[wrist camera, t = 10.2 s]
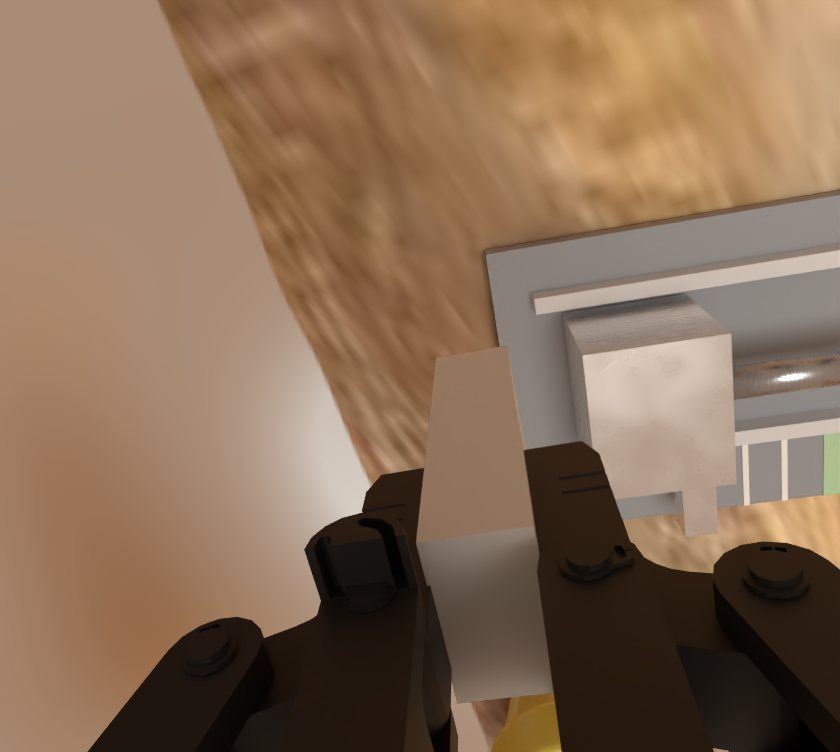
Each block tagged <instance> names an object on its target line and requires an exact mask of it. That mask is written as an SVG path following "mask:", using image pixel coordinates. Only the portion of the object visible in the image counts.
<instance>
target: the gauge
mask: <svg viewBox="0 0 840 752" xmlns="http://www.w3.org/2000/svg"><path fill="white" fill-rule="evenodd" d="M563 322H564V330H565V339H566V347H567V356H568V364H569V373H570V381H571V390H572V398H573V407H574V415H575V424H576V432H577V439H578V441H583V442H584V443H586V444H587V445H588V446H590V447H591V448H592V449H594V450H595V451H597V452H598V453H599V454H600V457H601V460H602V463H603V466H604V469H605V473H606V474H607V477H608V480H609V483H610V487H611V489H612V491H613V494H614V497H615V499H622V498H630V497H638V496H646V495H654V494H662V493H670V492H675V502H676V517H677V522H678V524H679V526H680V527H681V529H682V531H683V533H684V535H685V537H692V536H700V535H708V534H717V533H718V515H717V494H716V487H717V486H725V485H732V484H737V478H736V451H735V423H734V400H738V399H746V398H753V397H760V396H767V395H774V394H781V393H788V392H796V391H803V390H810V389H817V388H824V387H831V386H838V385H840V350H833V351H826V352H819V353H812V354H806V355H799V356H792V357H785V358H778V359H771V360H764V361H757V362H750V363H744V364H737V365H732V339H731V333H730V332H729V331H728V330H727V329H726V328H724V327H723V326H722V325H721V324H720V323H719V322H717V321H716V320H715V319H714V318H713V317H712V316H710V315H709V314H708V313H707V312H706V311H705V310H704V309H702V308H701V307H700V306H699V305H698V304H697V303H695V302H694V301H693V300H692V299H691V298H690V297H688V296H687V295H686V294H682V295H676V296H670V297H663V298H657V299H650V300H644V301H638V302H631V303H625V304H619V305H612V306H606V307H600V308H593V309H587V310H581V311H574V312H568V313H563Z"/></svg>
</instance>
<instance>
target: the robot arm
mask: <svg viewBox="0 0 840 752" xmlns="http://www.w3.org/2000/svg"><path fill="white" fill-rule="evenodd" d="M362 512H363V513H359V514H356V515H352V516H348V517H344V518H341V519H339V520H337V521H335V522H333V523H331V524H330V525H327V526H325V527H324V528H323V529H322V530H320V531H319V532H318V533H317V534H315V535H314V536H313V537H312V538H311V539H310V541H309V543H308V544H307V546H306V548H305V549H304V550H305V553H306V556H307V559H308V562H309V565H310V569H311V572H312V575H313V578H314V581H315V584H316V587H317V590H318V593H319V596H320V599H321V603H320V606H319V610H318V614H317V616H315V617H314V618H313V619H311V620H309V621H307V622H304V623H302V624H300V625H298V626H296V627H293V628H291V629H288V630H285V631H282V632H280V633H277V634H274V635H271V636H269V637H266V638H264V637H263V634H262V632H261V629H260V628H259V627H258V626H257V625H256V624H255V623H254V622H253V621H252V620H248V619H244V618H240V617H232V618H223V619H218V620H215V621H212V622H209V623H207V624H204V625H201V626H199V627H198V628H196V629H194V630H193V631H191V632H190V633H188V634H186V635H185V636H183V637H182V638H181V639H180V640H179V641H178V642H177V643H176V644H175V645H173V647H171V648H170V649H169V650H168V652H167V653H166V654H165V655H164V656H163V658H162V659H161V660H160V662H159V663H158V664H157V665H156V666H155V668H154V669H153V670H152V672H151V673H150V674H149V675H148V677H147V678H146V679H145V680H144V682H143V683H142V684H141V685H140V687H139V688H138V689H137V690H136V692H135V693H134V694H133V695H132V697H131V698H130V699H129V701H128V702H127V703H126V704H125V705H124V707H123V708H122V709H121V710H120V712H119V713H118V714H117V715H116V717H115V718H114V719H113V721H112V722H111V723H110V724H109V725H108V727H107V728H106V729H105V731H104V732H103V733H102V734H101V736H100V737H99V738H98V739H97V741H96V742H95V743H94V744H93V746H92V747H91V748H90V749H89V751H88V752H458V735H457V730H456V726H455V722H454V718H453V714H452V711H451V681H452V684H453V689H454V692H455V696H456V700H457V703H467V702H476V701H485V700H493V699H502V698H511V697H520V696H528V695H537V694H546V693H554V700H555V707H556V714H557V722H558V729H559V736H560V744H561V751H562V752H714V751H713V748H717V749H722V750H728V751H729V752H840V569H838V568H837V567H836V566H835V565H834V564H832V563H831V562H830V561H829V560H827V559H825V558H823V557H822V556H820V555H818V554H816V553H815V552H813V551H811V550H809V549H806V548H802V547H799V546H795V545H792V544H788V543H778V542H757V543H751V544H745V545H740V546H738V547H736V548H734V549H732V550H730V551H728V552H726V553H724V554H723V555H722V556H721V557H720V559H719V560H718V561H717V562H716V563H715V565H714V571H713V574H712V573H700V572H688V571H681V570H675V569H670V568H667V567H664V566H661V565H658V564H655V563H653V562H652V561H650V560H648V559H646V558H644V557H643V555H642V554H641V553H640V551H639V550H638V548H637V547H636V546H635V544H633V543H631V542H630V540H629V537H628V534H627V531H626V529H625V526H624V523H623V520H622V517H621V514H620V511H619V509H618V506H617V503H616V500H615V497H614V494H613V491H612V489H611V487H610V483H609V480H608V477H607V474H606V473H605V469H604V466H603V463H602V460H601V457H600V454H599V453H598V452H597V451H595V450H594V449H592V448H591V447H590V446H588V445H587V444H586V443H584V442H583V441H577V442H571V443H564V444H558V445H552V446H546V447H540V448H533V449H527V450H526V447H525V442H524V436H523V431H522V425H521V420H520V414H519V409H518V403H517V398H516V392H515V387H514V381H513V376H512V370H511V365H510V359H509V354H508V348H507V345H506V346H501V347H495V348H490V349H484V350H479V351H473V352H467V353H462V354H456V355H451V356H445V357H440V358H436V365H435V374H434V383H433V393H432V402H431V411H430V420H429V429H428V438H427V447H426V456H425V466H424V468H422V469H416V470H409V471H403V472H397V473H391V474H384V475H381V476H380V477H379V478H378V480H377V481H376V482H375V483H374V484H373V485H372V486H371V488H370V489H369V490H368V491H367V492H366V496H365V500H364V505H363V508H362Z"/></svg>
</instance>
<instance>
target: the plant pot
mask: <svg viewBox="0 0 840 752" xmlns="http://www.w3.org/2000/svg"><path fill="white" fill-rule="evenodd" d="M491 752H562V751H561V744H560V736H559V729H558V722H557V714H556V707H555V700H554V693H546V694H537V695H528V696H520V697H511V699H510V704H509V709H508V714H507V719H506V723H505V727H504V728H503V729H502V731H501V732H500V734H499V735H498V737H497V739H496V740H495V742H494V745H493V747H492V750H491Z"/></svg>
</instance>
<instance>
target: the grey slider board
mask: <svg viewBox="0 0 840 752" xmlns="http://www.w3.org/2000/svg"><path fill="white" fill-rule="evenodd" d="M485 254H486V260H487V267H488V274H489V280H490V287H491V294H492V300H493V307H494V314H495V320H496V327H497V333H498V340H499V347H501V346H506V345H507V348H508V354H509V359H510V365H511V370H512V376H513V381H514V387H515V392H516V398H517V403H518V409H519V414H520V420H521V425H522V431H523V436H524V442H525V447H526V450H527V449H533V448H540V447H546V446H552V445H558V444H564V443H571V442H577V441H578V439H577V432H576V424H575V415H574V407H573V398H572V390H571V381H570V373H569V364H568V356H567V347H566V339H565V330H564V322H563V313H568V312H574V311H581V310H587V309H593V308H600V307H606V306H612V305H619V304H625V303H631V302H638V301H644V300H650V299H657V298H663V297H670V296H676V295H682V294H686V295H687V296H688V297H690V298H691V299H692V300H693V301H694V302H695V303H697V304H698V305H699V306H700V307H701V308H702V309H704V310H705V311H706V312H707V313H708V314H709V315H710V316H712V317H713V318H714V319H715V320H716V321H717V322H719V323H720V324H721V325H722V326H723V327H724V328H726V329H727V330H728V331H729V332H730V333H731V339H732V365H737V364H744V363H750V362H757V361H764V360H771V359H778V358H785V357H792V356H799V355H806V354H812V353H819V352H826V351H833V350H840V190H836V191H831V192H825V193H819V194H813V195H807V196H801V197H795V198H789V199H783V200H777V201H771V202H765V203H760V204H754V205H748V206H742V207H736V208H730V209H724V210H718V211H712V212H706V213H700V214H695V215H689V216H683V217H677V218H671V219H665V220H659V221H653V222H647V223H641V224H635V225H629V226H624V227H618V228H612V229H606V230H600V231H594V232H588V233H582V234H576V235H570V236H564V237H559V238H553V239H547V240H541V241H535V242H529V243H523V244H517V245H511V246H505V247H499V248H494V249H488V250H485ZM734 423H735V451H736V478H737V484H732V485H725V486H717V487H716V494H717V508H721V507H729V506H737V505H744V506H746V505H750V504H753V503H762V502H770V501H778V500H782V501H786V500H788V499H794V498H802V497H810V496H818V495H823V496H826V495H834V494H840V385H838V386H831V387H824V388H817V389H810V390H803V391H796V392H788V393H781V394H774V395H767V396H760V397H753V398H746V399H738V400H734ZM615 500H616V503H617V506H618V509H619V511H620V514H621V517H622V520H625V519H633V518H641V517H649V516H657V515H665V514H673V513H676V502H675V492H670V493H662V494H654V495H646V496H638V497H630V498H622V499H615Z"/></svg>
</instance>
